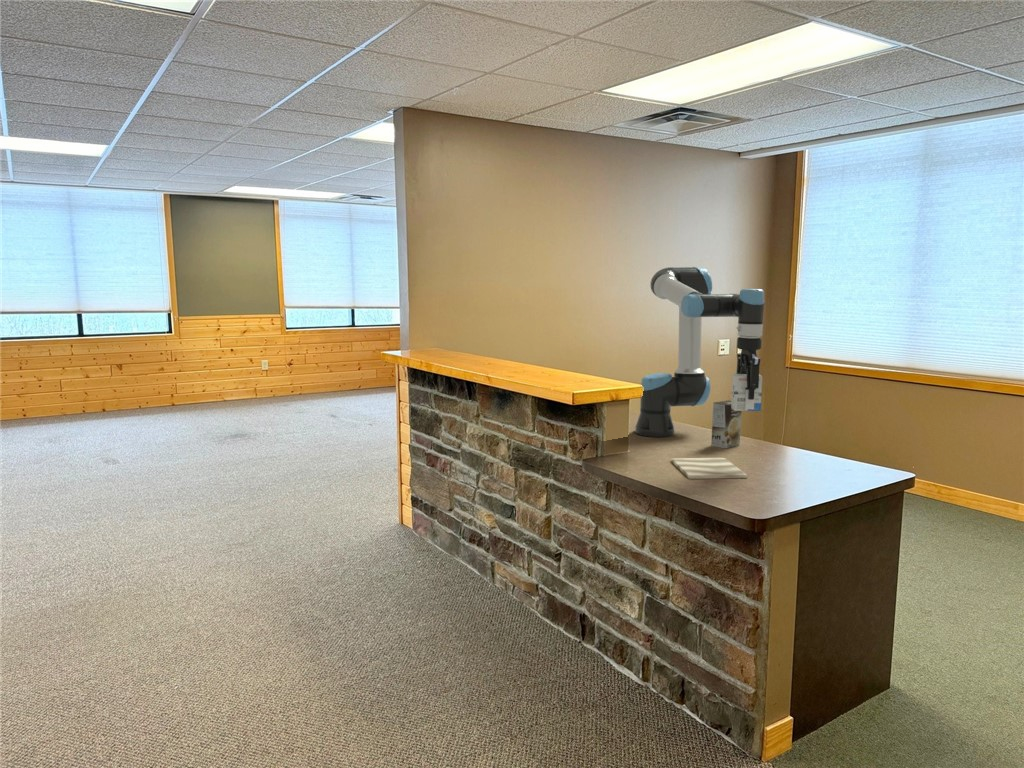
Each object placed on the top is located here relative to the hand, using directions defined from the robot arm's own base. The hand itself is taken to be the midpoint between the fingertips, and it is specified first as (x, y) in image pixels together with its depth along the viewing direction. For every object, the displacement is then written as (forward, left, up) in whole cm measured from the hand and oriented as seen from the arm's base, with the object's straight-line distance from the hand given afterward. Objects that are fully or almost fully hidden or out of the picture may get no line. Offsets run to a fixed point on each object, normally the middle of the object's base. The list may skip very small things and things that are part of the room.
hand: (745, 407), depth 226 cm
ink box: (0, 0, -1) cm, 1 cm away
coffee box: (-23, +2, -19) cm, 30 cm away
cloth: (+8, -15, -19) cm, 25 cm away
